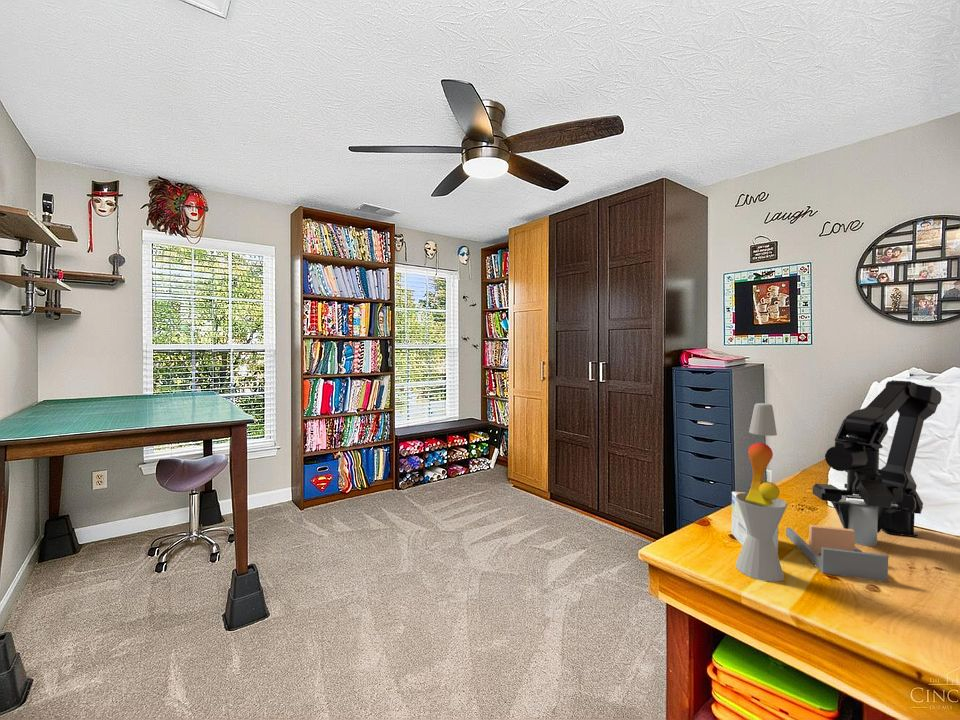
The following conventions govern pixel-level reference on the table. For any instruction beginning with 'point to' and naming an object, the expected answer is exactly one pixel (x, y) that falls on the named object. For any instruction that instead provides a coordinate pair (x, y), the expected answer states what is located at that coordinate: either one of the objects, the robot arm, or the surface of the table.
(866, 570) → the pusher lane
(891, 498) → the robot arm
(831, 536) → the plate
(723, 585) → the table surface
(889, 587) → the table surface
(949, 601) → the table surface
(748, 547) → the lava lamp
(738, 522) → the light bulb box
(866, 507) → the jar
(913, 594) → the table surface
